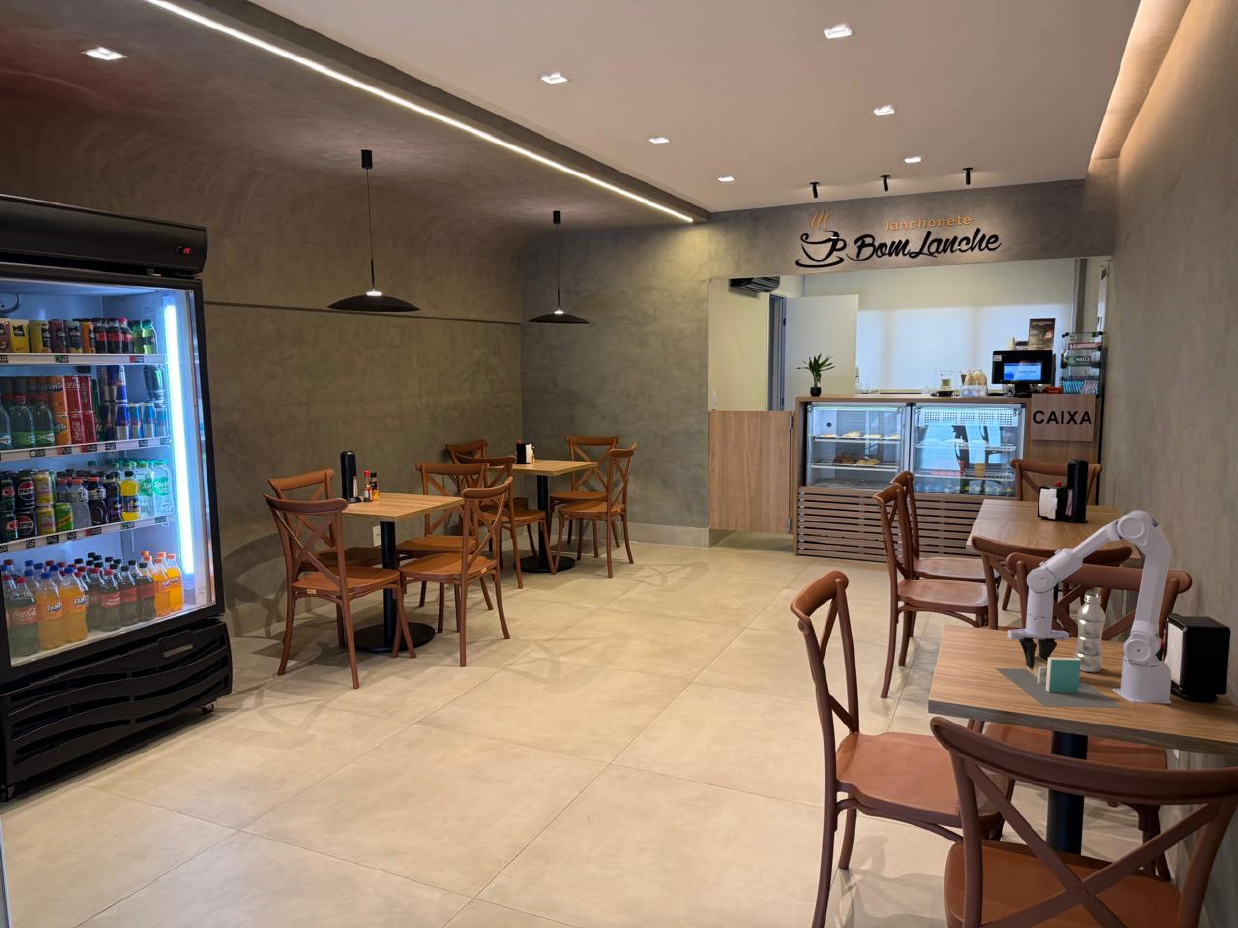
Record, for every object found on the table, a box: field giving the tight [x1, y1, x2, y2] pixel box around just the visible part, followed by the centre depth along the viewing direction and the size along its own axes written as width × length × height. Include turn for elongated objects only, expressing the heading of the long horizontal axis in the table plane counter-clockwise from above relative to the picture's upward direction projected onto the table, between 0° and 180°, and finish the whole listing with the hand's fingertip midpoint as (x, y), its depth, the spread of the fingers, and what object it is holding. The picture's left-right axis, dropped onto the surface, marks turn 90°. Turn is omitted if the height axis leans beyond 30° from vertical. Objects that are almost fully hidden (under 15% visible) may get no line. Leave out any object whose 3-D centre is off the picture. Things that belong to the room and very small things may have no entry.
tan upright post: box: [1026, 654, 1048, 684], centre depth 208 cm, size 6×10×4 cm, turn 0°
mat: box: [994, 667, 1124, 709], centre depth 201 cm, size 18×25×1 cm
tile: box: [1046, 657, 1081, 693], centre depth 198 cm, size 7×2×8 cm, turn 90°
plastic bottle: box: [1073, 592, 1107, 673], centre depth 213 cm, size 6×7×20 cm
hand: (1035, 666), depth 211 cm, fingers closed on tan upright post, 2 cm apart
